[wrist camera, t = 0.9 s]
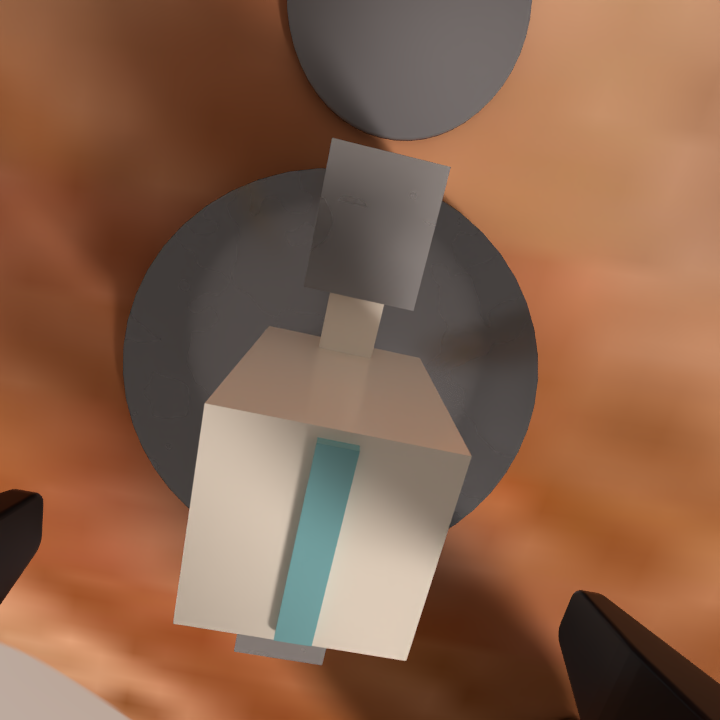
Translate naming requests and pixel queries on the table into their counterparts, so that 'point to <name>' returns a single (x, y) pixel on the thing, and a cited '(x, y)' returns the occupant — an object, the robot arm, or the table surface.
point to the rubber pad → (407, 59)
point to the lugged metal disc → (309, 304)
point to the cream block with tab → (321, 491)
